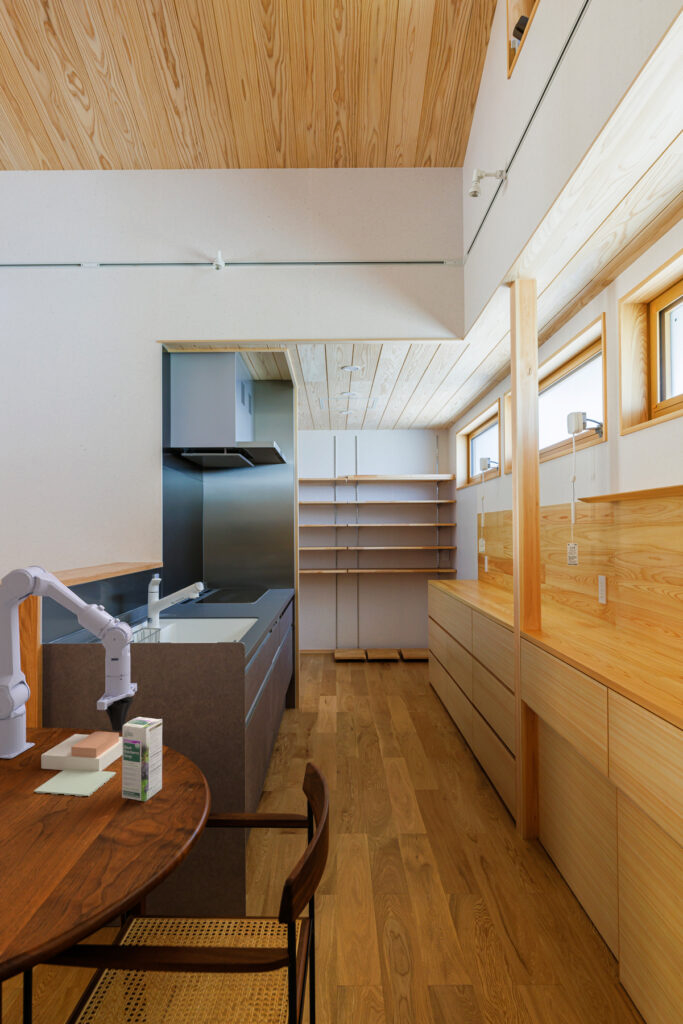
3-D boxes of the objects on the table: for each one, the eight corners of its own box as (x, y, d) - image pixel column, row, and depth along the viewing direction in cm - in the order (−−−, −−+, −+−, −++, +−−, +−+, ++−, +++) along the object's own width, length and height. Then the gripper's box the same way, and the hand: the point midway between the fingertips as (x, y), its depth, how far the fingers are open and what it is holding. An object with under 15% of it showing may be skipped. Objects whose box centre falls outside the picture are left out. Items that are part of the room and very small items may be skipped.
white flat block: (41, 768, 124) (41, 754, 124) (75, 746, 136) (75, 734, 136) (99, 772, 122) (99, 758, 122) (128, 749, 134) (128, 737, 134)
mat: (33, 792, 113) (33, 790, 113) (65, 770, 123) (65, 768, 123) (88, 797, 111) (88, 795, 111) (116, 774, 121) (116, 772, 121)
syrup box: (120, 798, 111) (120, 725, 111) (139, 784, 116) (139, 714, 116) (145, 802, 109) (145, 728, 109) (163, 788, 115) (163, 717, 115)
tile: (71, 755, 123) (71, 746, 123) (95, 739, 132) (95, 731, 132) (96, 757, 122) (96, 748, 122) (119, 741, 131) (118, 732, 131)
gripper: (116, 683, 129) (116, 742, 129) (148, 666, 143) (148, 719, 143) (88, 682, 130) (88, 740, 130) (122, 665, 144) (122, 718, 144)
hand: (118, 729), depth 136 cm, fingers closed
